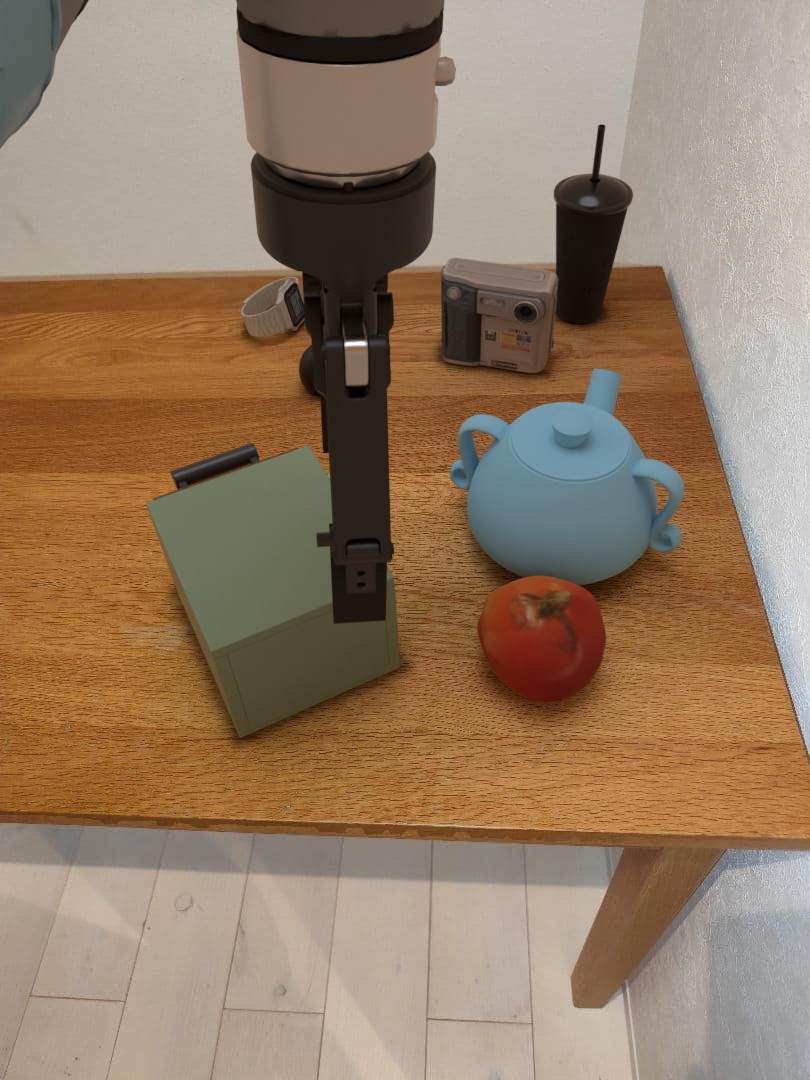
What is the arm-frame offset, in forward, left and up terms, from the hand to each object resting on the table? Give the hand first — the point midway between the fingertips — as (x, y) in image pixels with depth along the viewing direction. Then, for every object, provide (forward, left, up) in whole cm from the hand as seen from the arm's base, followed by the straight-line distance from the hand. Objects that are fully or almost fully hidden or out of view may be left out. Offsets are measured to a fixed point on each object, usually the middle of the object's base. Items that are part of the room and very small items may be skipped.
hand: (351, 525), depth 51 cm
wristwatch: (-8, +49, -19) cm, 53 cm away
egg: (-3, +37, -19) cm, 42 cm away
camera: (+15, +40, -19) cm, 47 cm away
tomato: (+13, +2, -19) cm, 23 cm away
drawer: (-8, +11, -18) cm, 23 cm away
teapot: (+18, +17, -19) cm, 31 cm away
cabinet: (-6, +7, -19) cm, 21 cm away
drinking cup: (+25, +47, -19) cm, 57 cm away
